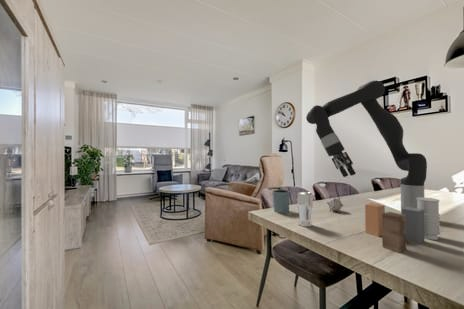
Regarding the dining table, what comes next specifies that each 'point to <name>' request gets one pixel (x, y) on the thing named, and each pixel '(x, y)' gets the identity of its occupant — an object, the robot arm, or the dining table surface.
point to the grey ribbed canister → (430, 216)
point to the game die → (335, 204)
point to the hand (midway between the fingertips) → (349, 175)
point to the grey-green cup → (281, 200)
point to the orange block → (374, 218)
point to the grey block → (414, 224)
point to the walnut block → (394, 231)
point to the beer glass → (305, 208)
